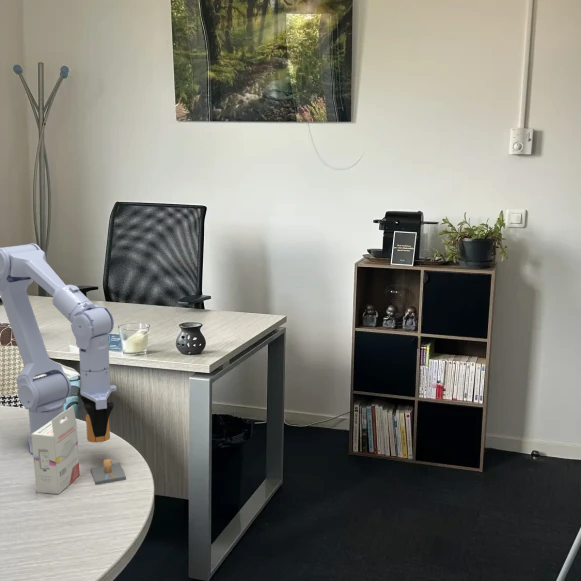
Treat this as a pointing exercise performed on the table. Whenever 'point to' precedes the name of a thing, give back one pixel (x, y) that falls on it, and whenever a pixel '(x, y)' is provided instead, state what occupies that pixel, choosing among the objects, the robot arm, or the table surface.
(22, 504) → the table surface
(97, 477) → the plate
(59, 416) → the ink cartridge box
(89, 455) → the table surface
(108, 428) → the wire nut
